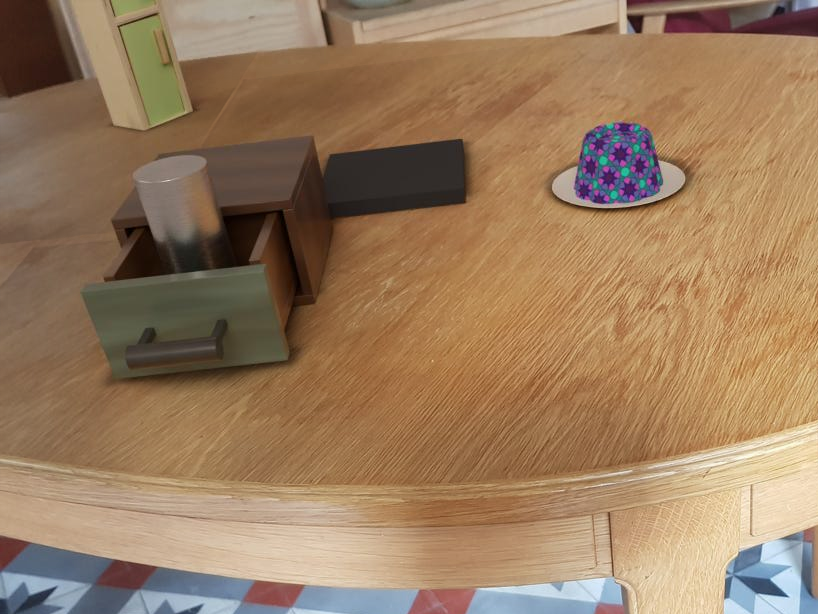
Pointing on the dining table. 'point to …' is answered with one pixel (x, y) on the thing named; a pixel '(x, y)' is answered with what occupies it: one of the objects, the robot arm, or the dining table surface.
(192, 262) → the brushed steel cylinder
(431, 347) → the dining table surface
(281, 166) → the cabinet
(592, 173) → the pudding
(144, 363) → the drawer
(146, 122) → the toy refrigerator
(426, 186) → the black rectangular block
